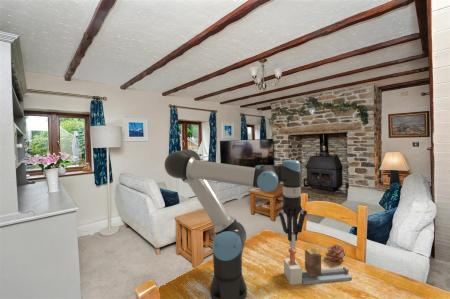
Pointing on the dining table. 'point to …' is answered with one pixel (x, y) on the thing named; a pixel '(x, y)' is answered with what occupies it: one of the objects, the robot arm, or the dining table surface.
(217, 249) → the robot arm
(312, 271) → the carriage
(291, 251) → the plunger
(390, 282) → the dining table surface
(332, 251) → the flower
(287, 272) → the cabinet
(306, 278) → the rail board
